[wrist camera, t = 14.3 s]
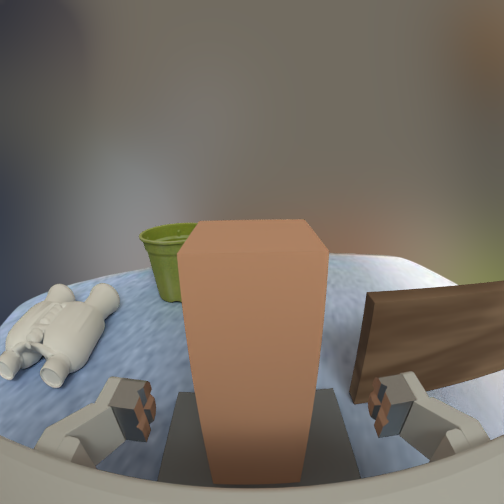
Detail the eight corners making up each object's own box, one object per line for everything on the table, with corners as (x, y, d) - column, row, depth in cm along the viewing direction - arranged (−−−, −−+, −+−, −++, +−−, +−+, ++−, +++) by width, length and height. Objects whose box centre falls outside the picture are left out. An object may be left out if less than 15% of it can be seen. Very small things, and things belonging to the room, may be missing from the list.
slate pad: (368, 524, 12) (372, 519, 11) (151, 530, 11) (147, 525, 11) (331, 395, 23) (332, 388, 23) (180, 399, 23) (178, 391, 23)
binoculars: (123, 313, 37) (117, 278, 36) (81, 399, 22) (63, 356, 20) (54, 312, 36) (46, 280, 35) (-4, 385, 21) (-22, 345, 20)
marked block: (299, 482, 15) (328, 251, 10) (213, 483, 15) (176, 253, 10) (291, 421, 20) (303, 217, 15) (218, 422, 20) (200, 219, 15)
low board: (505, 368, 22) (534, 284, 19) (354, 404, 22) (374, 302, 19) (497, 360, 23) (524, 278, 21) (349, 391, 23) (366, 292, 20)
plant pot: (171, 318, 36) (162, 246, 33) (135, 293, 42) (127, 232, 39) (231, 293, 42) (228, 229, 39) (189, 275, 48) (185, 219, 46)
